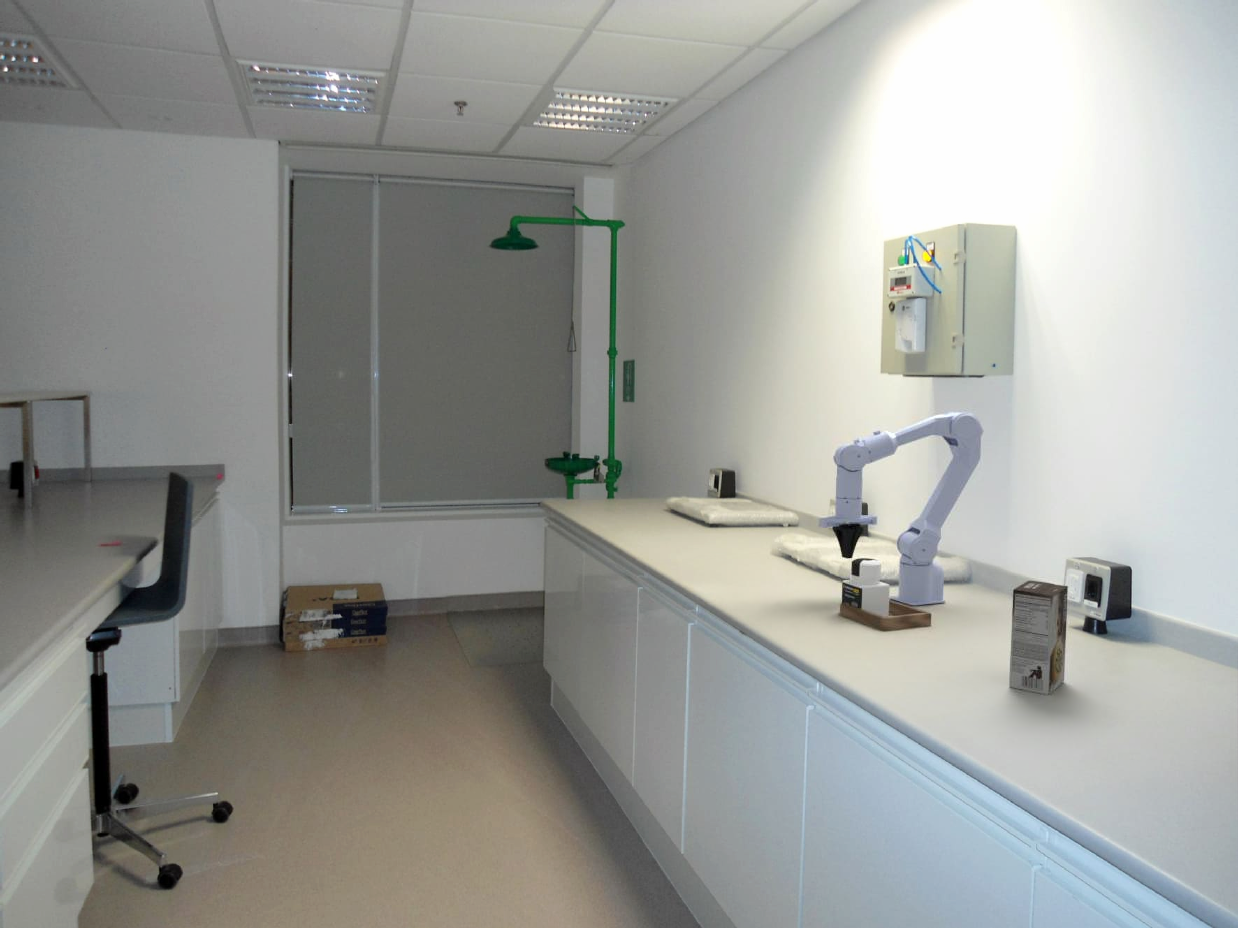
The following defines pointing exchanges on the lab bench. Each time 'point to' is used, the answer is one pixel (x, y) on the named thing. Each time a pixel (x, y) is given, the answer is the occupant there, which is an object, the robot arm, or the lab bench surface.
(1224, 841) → the lab bench surface
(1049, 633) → the coffee box
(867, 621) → the frame
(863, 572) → the medicine bottle
